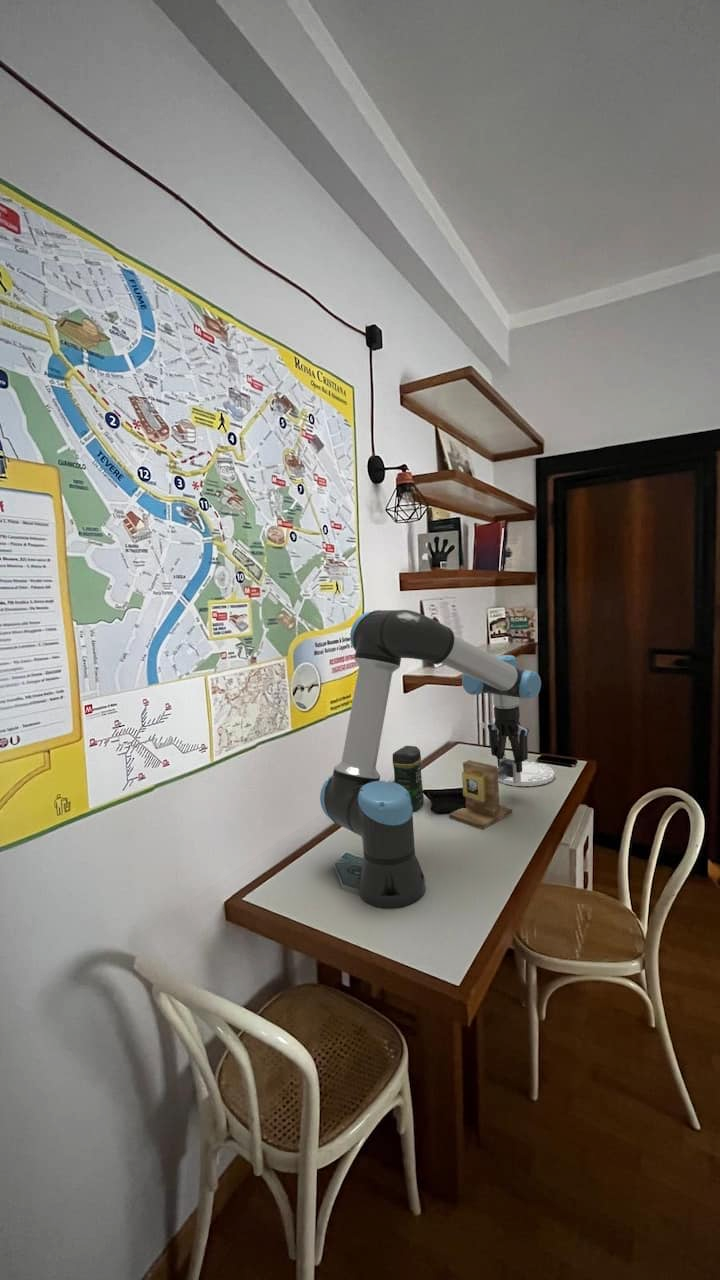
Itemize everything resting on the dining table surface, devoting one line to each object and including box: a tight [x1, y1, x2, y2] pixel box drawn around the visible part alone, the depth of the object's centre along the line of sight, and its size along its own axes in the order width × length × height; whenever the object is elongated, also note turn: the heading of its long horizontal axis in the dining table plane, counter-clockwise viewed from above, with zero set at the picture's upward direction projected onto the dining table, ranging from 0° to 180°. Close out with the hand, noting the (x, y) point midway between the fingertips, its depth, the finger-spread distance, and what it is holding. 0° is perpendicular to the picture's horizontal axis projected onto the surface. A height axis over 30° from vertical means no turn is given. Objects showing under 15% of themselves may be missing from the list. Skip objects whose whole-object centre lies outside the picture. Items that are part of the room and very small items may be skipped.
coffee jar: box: [392, 745, 425, 812], centre depth 167 cm, size 10×8×19 cm
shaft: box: [467, 758, 515, 791], centre depth 160 cm, size 21×4×4 cm, turn 130°
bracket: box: [448, 759, 513, 830], centre depth 156 cm, size 14×12×15 cm
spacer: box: [461, 770, 488, 802], centre depth 155 cm, size 2×7×7 cm, turn 40°
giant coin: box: [497, 760, 556, 787], centre depth 185 cm, size 20×20×3 cm
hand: (510, 780), depth 166 cm, fingers closed on shaft, 4 cm apart
